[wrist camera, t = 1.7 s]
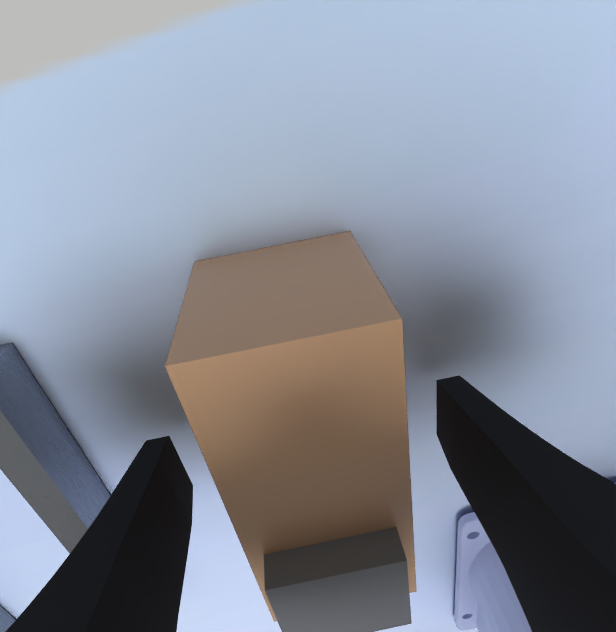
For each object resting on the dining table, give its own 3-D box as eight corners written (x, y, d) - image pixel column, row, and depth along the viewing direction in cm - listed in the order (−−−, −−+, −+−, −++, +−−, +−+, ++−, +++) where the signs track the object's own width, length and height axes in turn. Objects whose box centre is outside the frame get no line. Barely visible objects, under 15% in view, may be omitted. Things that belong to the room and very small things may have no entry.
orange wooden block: (375, 461, 16) (426, 624, 11) (268, 483, 16) (275, 656, 11) (348, 228, 11) (418, 345, 6) (194, 259, 11) (155, 398, 6)
